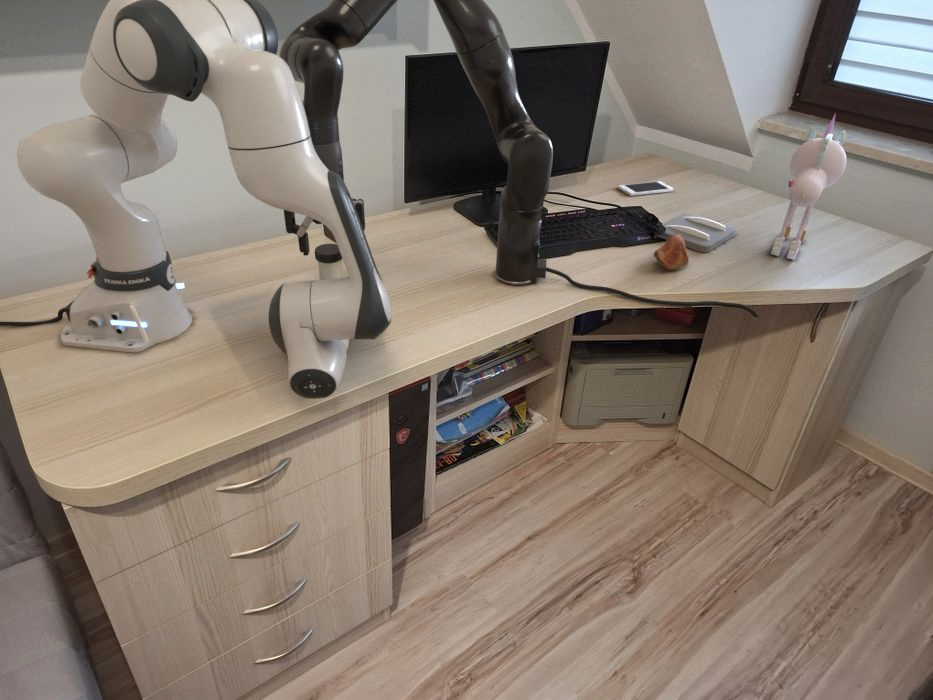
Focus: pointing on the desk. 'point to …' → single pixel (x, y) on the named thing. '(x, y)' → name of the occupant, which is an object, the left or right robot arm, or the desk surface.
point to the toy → (811, 180)
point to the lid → (327, 253)
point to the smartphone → (645, 188)
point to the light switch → (698, 231)
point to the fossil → (672, 253)
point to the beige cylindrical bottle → (330, 270)
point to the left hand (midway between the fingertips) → (333, 293)
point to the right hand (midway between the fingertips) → (328, 254)
